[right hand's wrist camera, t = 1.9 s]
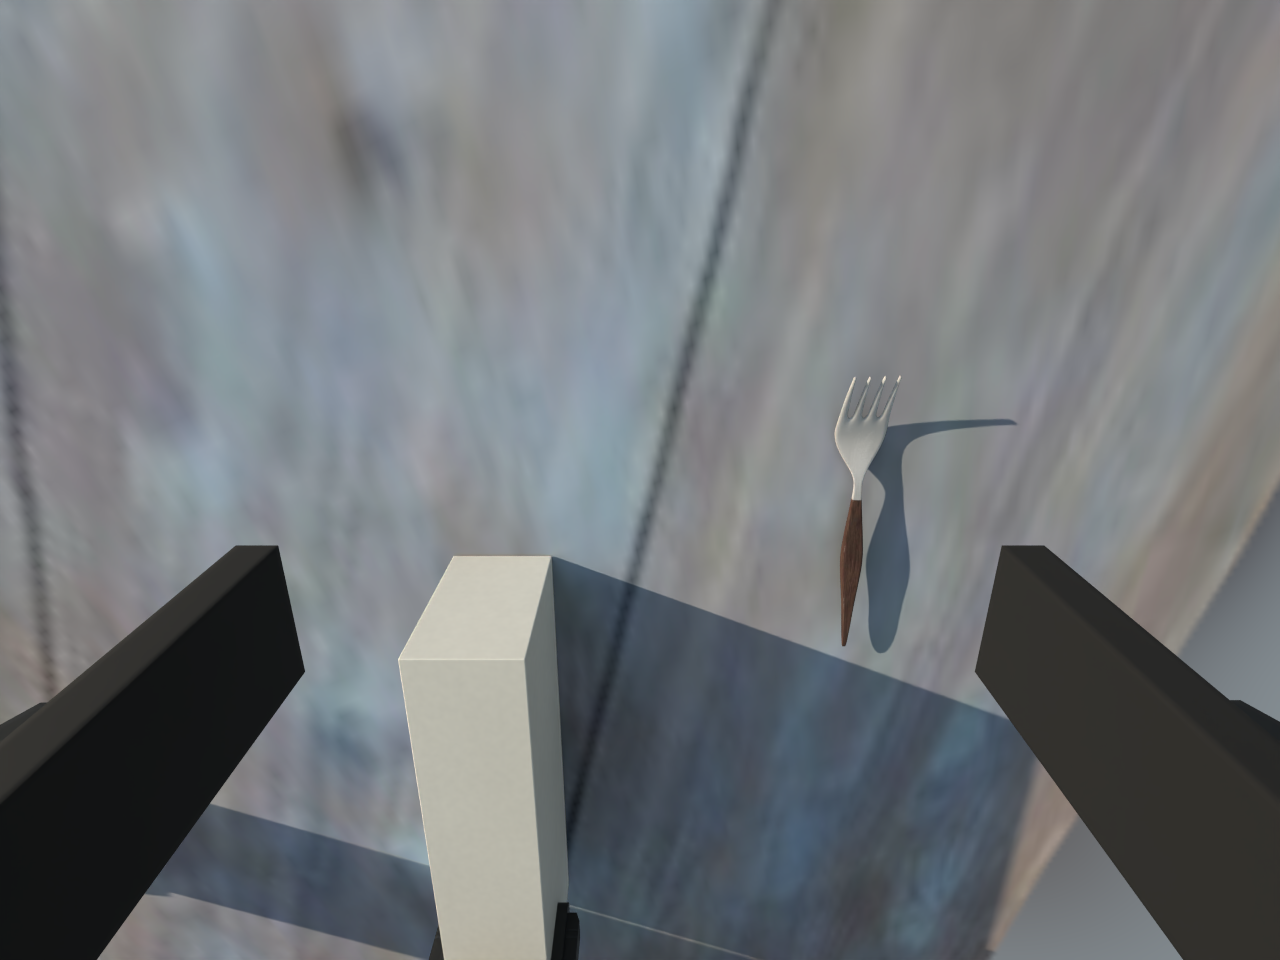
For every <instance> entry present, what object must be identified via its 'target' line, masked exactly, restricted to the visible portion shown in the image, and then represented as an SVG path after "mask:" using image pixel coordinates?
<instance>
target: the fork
mask: <svg viewBox="0 0 1280 960" xmlns="http://www.w3.org/2000/svg"><path fill="white" fill-rule="evenodd" d="M901 379H902V376H899V378H898V380H897V382H896V384H895V386H894V388H893V390H892V393H891V395H890V397H889V399H888V401H887V404H886V406H885V408H884V411H883V413H882V415H881V416H880V417H877V416H876V412H877V408H878V404H879V400H880V397H881V393H882V390H883V387H884V383H885V380H886V376H885V377H884V378H883V380H882V382H881V385H880V387H879V389H878V391H877V394H876V396H875V398H874V401H873V403H872V406H871V408H870V410H869V413H868V415H867V416H866V417H864V418H863V417H862V411H863V406H864V403H865V399H866V395H867V391H868V387H869V384H870V381H871V377H869V379H868V381H867V383H866V385H865V388H864V390H863V392H862V395H861V397H860V400H859V402H858V405H857V408H856V410H855V413H854V414H853V416H852V417H851V418H848V409H849V405H850V401H851V396H852V392H853V388H854V384H855V381H856V377H854V378H853V381H852V384H851V386H850V389H849V391H848V394H847V396H846V399H845V401H844V404H843V407H842V410H841V413H840V416H839V419H838V422H837V425H836V429H835V441H836V445H837V448H838V450H839V452H840V454H841V456H842V458H843V459H844V461H845V463H846V464H847V466H848V468H849V470H850V472H851V474H852V476H853V481H854V487H853V494H852V499H851V504H850V508H849V513H848V517H847V522H846V526H845V531H844V536H843V541H842V547H841V556H840V580H841V636H842V646H845V645H846V642H847V637H848V632H849V627H850V622H851V617H852V611H853V606H854V601H855V596H856V591H857V587H858V582H859V577H860V572H861V566H862V556H863V533H862V500H861V490H862V482H863V478H864V475H865V473H866V471H867V469H868V467H869V466H870V464H871V462H872V461H873V459H874V457H875V456H876V454H877V452H878V450H879V448H880V447H881V444H882V442H883V440H884V437H885V435H886V431H887V427H888V421H889V416H890V412H891V408H892V405H893V402H894V399H895V395H896V392H897V389H898V386H899V383H900V381H901Z"/></svg>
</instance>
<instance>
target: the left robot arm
mask: <svg viewBox="0 0 1280 960" xmlns="http://www.w3.org/2000/svg"><path fill="white" fill-rule="evenodd" d="M579 943H580V927H579V919H578V916H577V913H570V912H569V902H558V904H557V912H556V920H555V928H554V937H553V945H552V954H551V960H578V954H579ZM429 960H444V954H443V948H442V941H441V935H440V928H439V925H438V929H437V932H436V936H435V940H434V943H433V947H432V950H431V954H430V957H429Z"/></svg>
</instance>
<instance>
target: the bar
mask: <svg viewBox="0 0 1280 960" xmlns="http://www.w3.org/2000/svg"><path fill="white" fill-rule="evenodd" d="M398 661H399V667H400V674H401V680H402V687H403V693H404V700H405V707H406V713H407V720H408V726H409V733H410V739H411V746H412V752H413V759H414V765H415V772H416V778H417V785H418V791H419V798H420V804H421V811H422V817H423V824H424V830H425V837H426V844H427V850H428V857H429V863H430V870H431V876H432V883H433V889H434V896H435V902H436V909H437V915H438V922H439V928H440V935H441V941H442V948H443V954H444V960H551V954H552V945H553V937H554V928H555V920H556V912H557V904H558V902H567V896H568V887H569V876H568V857H567V838H566V819H565V800H564V781H563V762H562V743H561V724H560V705H559V686H558V667H557V648H556V629H555V610H554V591H553V572H552V557H551V556H453V558H452V560H451V562H450V564H449V566H448V568H447V570H446V571H445V573H444V575H443V577H442V579H441V581H440V583H439V584H438V586H437V588H436V590H435V592H434V594H433V596H432V597H431V599H430V601H429V603H428V605H427V607H426V609H425V610H424V612H423V614H422V616H421V618H420V620H419V622H418V624H417V625H416V627H415V629H414V631H413V633H412V635H411V637H410V638H409V640H408V642H407V644H406V646H405V648H404V650H403V651H402V653H401V655H400V657H399V659H398Z"/></svg>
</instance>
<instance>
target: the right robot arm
mask: <svg viewBox="0 0 1280 960" xmlns="http://www.w3.org/2000/svg"><path fill="white" fill-rule="evenodd" d="M304 672H305V669H304V664H303V660H302V655H301V650H300V646H299V641H298V636H297V632H296V627H295V622H294V618H293V613H292V608H291V604H290V599H289V594H288V590H287V585H286V580H285V576H284V571H283V566H282V561H281V557H280V552H279V547H278V546H235V547H234V548H232V549H231V550H230V551H229V552H228V553H226V554H225V555H224V556H223V557H222V558H220V559H219V560H218V561H217V562H216V563H214V564H213V565H212V566H211V567H210V568H208V569H207V570H206V571H205V572H204V573H202V574H201V575H200V576H199V577H198V578H196V579H195V580H194V581H193V582H192V583H190V584H189V585H188V586H187V587H186V588H184V589H183V590H182V591H181V592H180V593H178V594H177V595H176V596H175V597H174V598H172V599H171V600H170V601H169V602H168V603H166V604H165V605H164V606H163V607H162V608H160V609H159V610H158V611H157V612H156V613H154V614H153V615H152V616H151V617H150V618H148V619H147V620H146V621H145V622H144V623H142V624H141V625H140V626H139V627H138V628H136V629H135V630H134V631H133V632H132V633H130V634H129V635H128V636H127V637H126V638H124V639H123V640H122V641H121V642H120V643H118V644H117V645H116V646H115V647H114V648H112V649H111V650H110V651H109V652H108V653H106V654H105V655H104V656H103V657H102V658H100V659H99V660H98V661H97V662H96V663H94V664H93V665H92V666H91V667H90V668H88V669H87V670H86V671H85V672H84V673H82V674H81V675H80V676H79V677H78V678H76V679H75V680H74V681H73V682H72V683H70V684H69V685H68V686H67V687H66V688H64V689H63V690H62V691H61V692H60V693H58V694H57V695H56V696H55V697H54V698H52V699H51V700H50V701H49V702H48V703H39V704H37V705H35V706H34V707H32V708H30V709H28V710H26V711H25V712H23V713H21V714H19V715H17V716H16V717H14V718H12V719H10V720H8V721H6V722H5V723H3V724H1V725H0V960H97V959H98V957H99V956H100V954H101V953H102V952H103V950H104V949H105V948H106V946H107V945H108V943H109V942H110V941H111V939H112V938H113V936H114V935H115V934H116V932H117V931H118V930H119V928H120V927H121V925H122V924H123V923H124V921H125V920H126V919H127V917H128V916H129V914H130V913H131V912H132V910H133V909H134V907H135V906H136V905H137V903H138V902H139V901H140V899H141V898H142V896H143V895H144V894H145V892H146V891H147V889H148V888H149V887H150V885H151V884H152V883H153V881H154V880H155V878H156V877H157V876H158V874H159V873H160V872H161V870H162V869H163V867H164V866H165V865H166V863H167V862H168V860H169V859H170V858H171V856H172V855H173V854H174V852H175V851H176V849H177V848H178V847H179V845H180V844H181V842H182V841H183V840H184V838H185V837H186V836H187V834H188V833H189V831H190V830H191V829H192V827H193V826H194V825H195V823H196V822H197V820H198V819H199V818H200V816H201V815H202V813H203V812H204V811H205V809H206V808H207V807H208V805H209V804H210V802H211V801H212V800H213V798H214V797H215V795H216V794H217V793H218V791H219V790H220V789H221V787H222V786H223V784H224V783H225V782H226V780H227V779H228V778H229V776H230V775H231V773H232V772H233V771H234V769H235V768H236V766H237V765H238V764H239V762H240V761H241V760H242V758H243V757H244V755H245V754H246V753H247V751H248V750H249V748H250V747H251V746H252V744H253V743H254V742H255V740H256V739H257V737H258V736H259V735H260V733H261V732H262V731H263V729H264V728H265V726H266V725H267V724H268V722H269V721H270V719H271V718H272V717H273V715H274V714H275V713H276V711H277V710H278V708H279V707H280V706H281V704H282V703H283V701H284V700H285V699H286V697H287V696H288V695H289V693H290V692H291V690H292V689H293V688H294V686H295V685H296V683H297V682H298V681H299V679H300V678H301V677H302V675H303V674H304ZM975 672H976V674H977V675H978V677H979V678H980V679H981V681H982V682H983V684H984V685H985V686H986V688H987V689H988V690H989V692H990V693H991V695H992V696H993V697H994V699H995V700H996V701H997V703H998V704H999V706H1000V707H1001V708H1002V710H1003V711H1004V713H1005V714H1006V715H1007V717H1008V718H1009V719H1010V721H1011V722H1012V724H1013V725H1014V726H1015V728H1016V729H1017V731H1018V732H1019V733H1020V735H1021V736H1022V737H1023V739H1024V740H1025V742H1026V743H1027V744H1028V746H1029V747H1030V748H1031V750H1032V751H1033V753H1034V754H1035V755H1036V757H1037V758H1038V760H1039V761H1040V762H1041V764H1042V765H1043V766H1044V768H1045V769H1046V771H1047V772H1048V773H1049V775H1050V776H1051V778H1052V779H1053V780H1054V782H1055V783H1056V784H1057V786H1058V787H1059V789H1060V790H1061V791H1062V793H1063V794H1064V795H1065V797H1066V798H1067V800H1068V801H1069V802H1070V804H1071V805H1072V807H1073V808H1074V809H1075V811H1076V812H1077V813H1078V815H1079V816H1080V818H1081V819H1082V820H1083V822H1084V823H1085V824H1086V826H1087V827H1088V829H1089V830H1090V831H1091V833H1092V834H1093V835H1094V837H1095V838H1096V840H1097V841H1098V842H1099V844H1100V845H1101V847H1102V848H1103V849H1104V851H1105V852H1106V854H1107V855H1108V856H1109V858H1110V859H1111V860H1112V862H1113V863H1114V865H1115V866H1116V867H1117V869H1118V870H1119V872H1120V873H1121V874H1122V876H1123V877H1124V878H1125V880H1126V881H1127V883H1128V884H1129V885H1130V887H1131V888H1132V889H1133V891H1134V892H1135V894H1136V895H1137V896H1138V898H1139V899H1140V901H1141V902H1142V903H1143V905H1144V906H1145V907H1146V909H1147V910H1148V912H1149V913H1150V914H1151V916H1152V917H1153V919H1154V920H1155V921H1156V923H1157V924H1158V925H1159V927H1160V928H1161V930H1162V931H1163V932H1164V934H1165V935H1166V936H1167V938H1168V939H1169V941H1170V942H1171V943H1172V945H1173V946H1174V948H1175V949H1176V950H1177V952H1178V953H1179V954H1180V956H1181V957H1182V959H1183V960H1280V722H1279V721H1277V720H1275V719H1274V718H1272V717H1270V716H1268V715H1266V714H1264V713H1263V712H1261V711H1259V710H1257V709H1255V708H1254V707H1252V706H1250V705H1248V704H1246V703H1244V702H1243V701H1241V700H1229V699H1228V698H1226V697H1225V696H1224V695H1223V694H1221V693H1220V692H1219V691H1218V690H1217V689H1215V688H1214V687H1213V686H1212V685H1211V684H1210V683H1208V682H1207V681H1206V680H1205V679H1204V678H1202V677H1201V676H1200V675H1199V674H1198V673H1196V672H1195V671H1194V670H1193V669H1191V668H1190V667H1189V666H1188V665H1187V664H1185V663H1184V662H1183V661H1182V660H1181V659H1180V658H1178V657H1177V656H1176V655H1175V654H1174V653H1172V652H1171V651H1170V650H1169V649H1168V648H1166V647H1165V646H1164V645H1163V644H1162V643H1160V642H1159V641H1158V640H1157V639H1156V638H1154V637H1153V636H1152V635H1151V634H1150V633H1148V632H1147V631H1146V630H1145V629H1144V628H1142V627H1141V626H1140V625H1139V624H1138V623H1136V622H1135V621H1134V620H1133V619H1132V618H1130V617H1129V616H1128V615H1127V614H1126V613H1124V612H1123V611H1122V610H1121V609H1120V608H1118V607H1117V606H1116V605H1115V604H1114V603H1112V602H1111V601H1110V600H1109V599H1108V598H1106V597H1105V596H1104V595H1103V594H1102V593H1100V592H1099V591H1098V590H1097V589H1096V588H1094V587H1093V586H1092V585H1091V584H1090V583H1088V582H1087V581H1086V580H1085V579H1084V578H1082V577H1081V576H1080V575H1079V574H1078V573H1076V572H1075V571H1074V570H1073V569H1072V568H1070V567H1069V566H1068V565H1067V564H1066V563H1064V562H1063V561H1062V560H1061V559H1060V558H1058V557H1057V556H1056V555H1055V554H1054V553H1052V552H1051V551H1050V550H1049V549H1048V548H1046V547H1045V546H1002V547H1001V552H1000V557H999V561H998V566H997V571H996V576H995V580H994V585H993V590H992V594H991V599H990V604H989V608H988V613H987V618H986V622H985V627H984V632H983V636H982V641H981V646H980V650H979V655H978V660H977V664H976V669H975Z"/></svg>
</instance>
